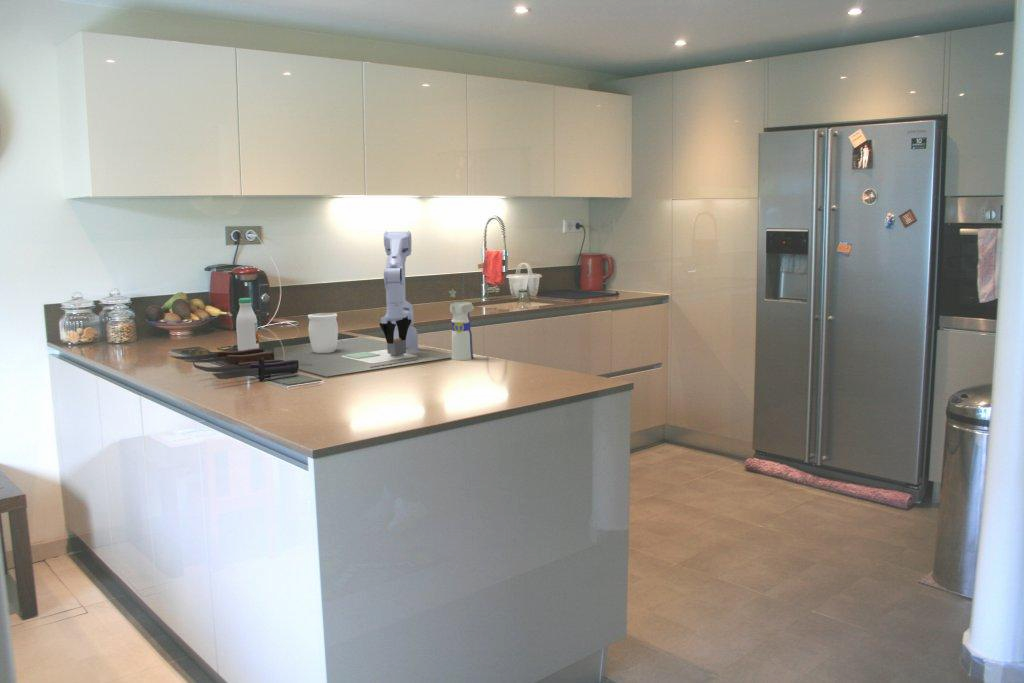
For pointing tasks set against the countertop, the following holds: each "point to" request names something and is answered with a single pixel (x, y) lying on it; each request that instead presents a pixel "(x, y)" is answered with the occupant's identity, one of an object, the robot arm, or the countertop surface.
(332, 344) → the jar
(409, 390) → the countertop surface
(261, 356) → the knife set
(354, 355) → the pad
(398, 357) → the mount board
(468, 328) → the white spray bottle
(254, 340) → the milk bottle
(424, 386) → the countertop surface
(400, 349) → the gray handled box
